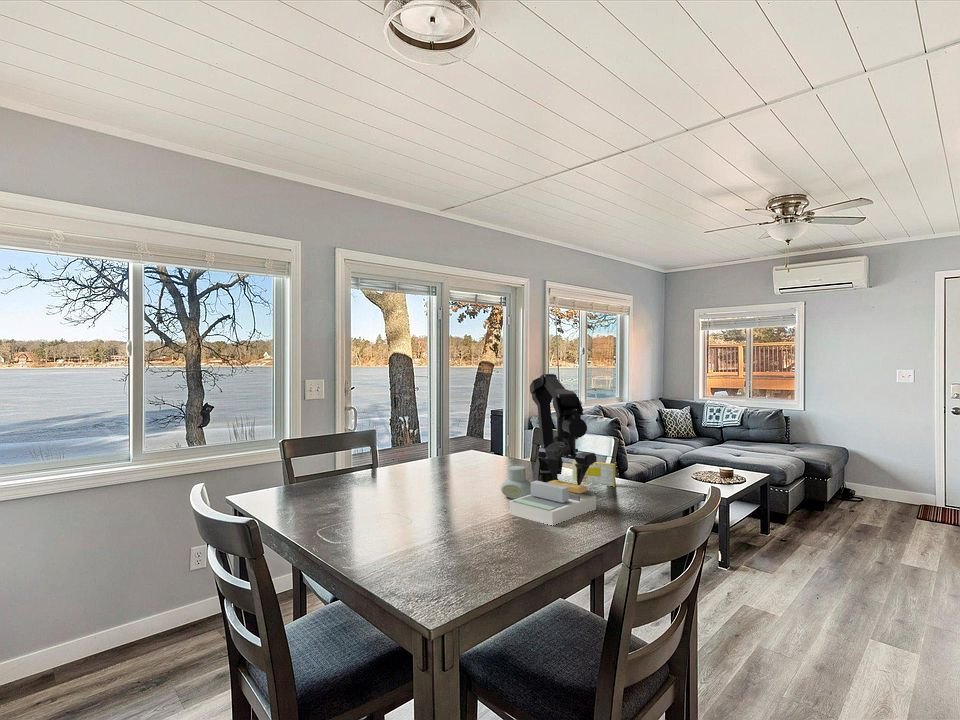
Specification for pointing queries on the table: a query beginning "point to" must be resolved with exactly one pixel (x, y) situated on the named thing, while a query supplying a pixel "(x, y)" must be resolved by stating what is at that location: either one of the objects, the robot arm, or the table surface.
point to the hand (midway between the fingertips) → (566, 482)
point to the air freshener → (516, 483)
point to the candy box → (597, 473)
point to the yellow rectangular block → (570, 486)
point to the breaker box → (553, 507)
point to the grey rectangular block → (550, 491)
